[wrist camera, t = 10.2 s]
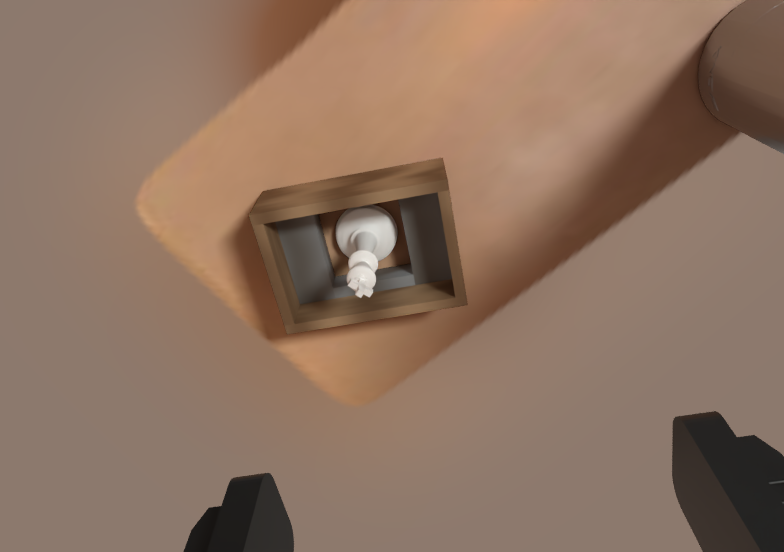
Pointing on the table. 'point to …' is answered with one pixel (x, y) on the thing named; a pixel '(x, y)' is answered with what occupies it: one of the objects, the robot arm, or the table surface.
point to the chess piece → (365, 244)
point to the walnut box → (393, 285)
